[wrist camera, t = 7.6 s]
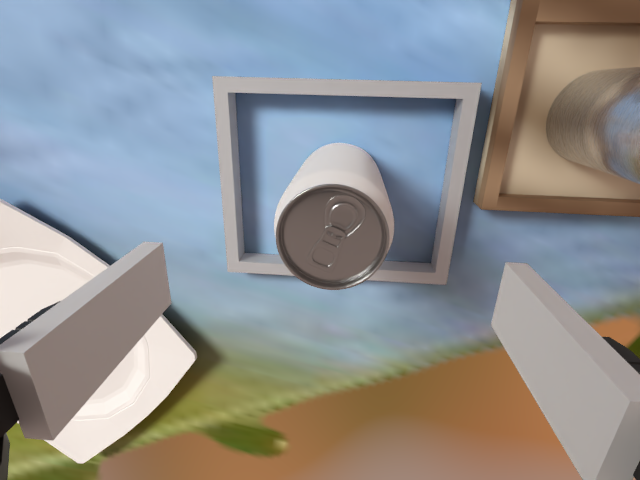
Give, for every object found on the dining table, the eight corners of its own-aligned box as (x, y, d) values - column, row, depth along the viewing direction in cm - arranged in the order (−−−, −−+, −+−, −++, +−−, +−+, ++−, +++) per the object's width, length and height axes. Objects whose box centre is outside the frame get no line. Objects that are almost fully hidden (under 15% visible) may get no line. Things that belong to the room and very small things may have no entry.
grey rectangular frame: (220, 77, 27) (212, 76, 25) (473, 83, 26) (481, 82, 24) (234, 262, 33) (227, 271, 31) (441, 274, 31) (446, 284, 30)
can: (395, 163, 28) (423, 210, 17) (358, 234, 31) (361, 315, 20) (318, 127, 28) (296, 151, 17) (286, 202, 30) (249, 267, 19)
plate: (224, 340, 36) (214, 358, 34) (99, 453, 44) (84, 474, 42) (2, 164, 31) (-28, 170, 29) (-94, 327, 39) (-124, 343, 37)
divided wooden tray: (564, -285, 19) (587, -325, 17) (839, -295, 18) (894, -339, 16) (473, 201, 29) (481, 209, 27) (648, 209, 28) (669, 218, 26)
